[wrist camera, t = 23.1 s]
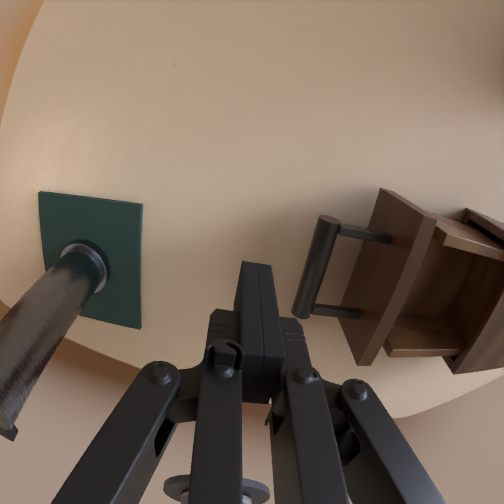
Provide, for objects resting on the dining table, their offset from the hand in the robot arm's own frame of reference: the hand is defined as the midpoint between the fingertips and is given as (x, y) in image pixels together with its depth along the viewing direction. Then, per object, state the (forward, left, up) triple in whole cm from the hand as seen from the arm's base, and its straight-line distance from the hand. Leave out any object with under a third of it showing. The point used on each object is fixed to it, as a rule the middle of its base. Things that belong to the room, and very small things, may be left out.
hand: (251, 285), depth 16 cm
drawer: (0, -12, -7) cm, 14 cm away
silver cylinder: (-5, +13, -7) cm, 16 cm away
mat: (-5, +13, -8) cm, 16 cm away
